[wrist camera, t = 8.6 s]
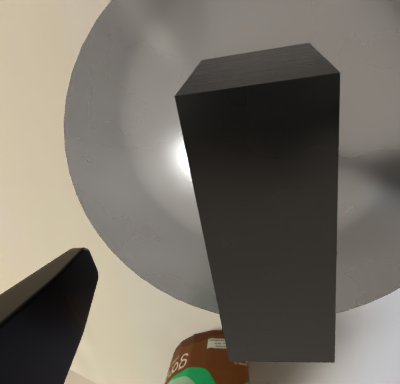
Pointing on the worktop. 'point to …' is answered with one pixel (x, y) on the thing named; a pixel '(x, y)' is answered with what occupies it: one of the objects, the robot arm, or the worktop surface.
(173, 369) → the food container
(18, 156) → the worktop surface
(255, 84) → the lid
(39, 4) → the worktop surface
